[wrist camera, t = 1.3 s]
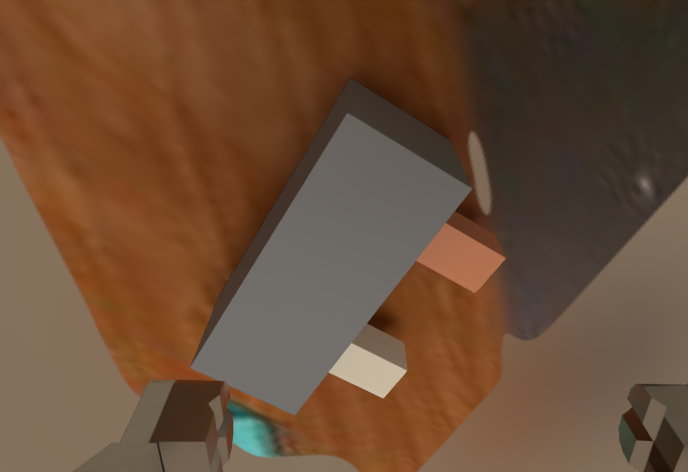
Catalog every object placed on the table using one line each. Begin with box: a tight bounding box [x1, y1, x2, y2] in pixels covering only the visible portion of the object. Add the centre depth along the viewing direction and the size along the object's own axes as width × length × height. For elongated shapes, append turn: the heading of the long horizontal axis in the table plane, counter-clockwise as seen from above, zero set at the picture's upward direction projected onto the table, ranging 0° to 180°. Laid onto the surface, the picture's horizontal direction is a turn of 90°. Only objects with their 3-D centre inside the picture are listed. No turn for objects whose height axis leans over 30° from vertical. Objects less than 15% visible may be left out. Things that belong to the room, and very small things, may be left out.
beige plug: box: [329, 324, 407, 398], centre depth 51 cm, size 11×4×4 cm, turn 59°
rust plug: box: [416, 212, 506, 293], centre depth 45 cm, size 11×4×4 cm, turn 59°
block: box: [190, 78, 472, 415], centre depth 47 cm, size 10×26×11 cm, turn 149°
